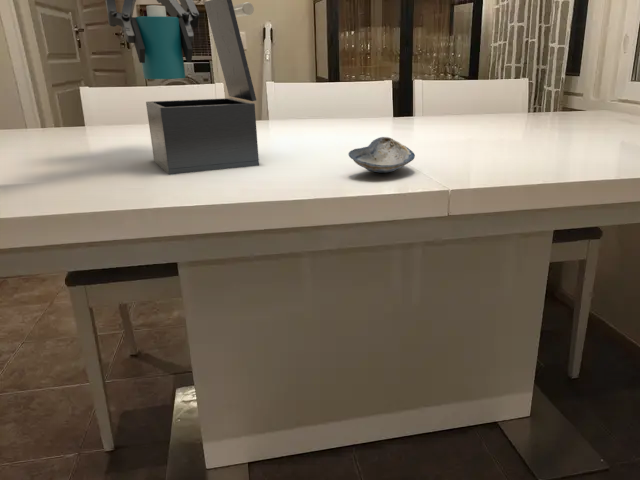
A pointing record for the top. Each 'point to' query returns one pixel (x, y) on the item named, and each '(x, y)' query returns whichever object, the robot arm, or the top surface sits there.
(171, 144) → the black box
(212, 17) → the box lid
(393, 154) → the seashell
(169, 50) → the detergent bottle
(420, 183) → the top surface
